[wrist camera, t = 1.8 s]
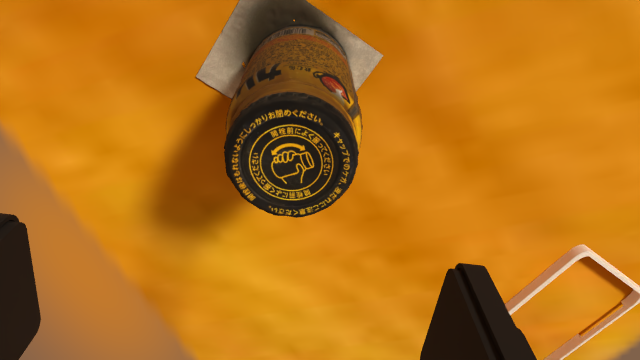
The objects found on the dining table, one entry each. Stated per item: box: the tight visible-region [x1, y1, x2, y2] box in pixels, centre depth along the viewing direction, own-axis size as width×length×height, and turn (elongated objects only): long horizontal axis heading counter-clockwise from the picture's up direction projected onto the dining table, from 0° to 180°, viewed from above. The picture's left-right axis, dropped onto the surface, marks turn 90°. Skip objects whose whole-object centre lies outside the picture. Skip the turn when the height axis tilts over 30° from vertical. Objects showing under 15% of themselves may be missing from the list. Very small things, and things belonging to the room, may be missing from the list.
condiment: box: [196, 0, 383, 217], centre depth 24 cm, size 7×8×12 cm
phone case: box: [505, 245, 640, 360], centre depth 39 cm, size 7×1×15 cm
